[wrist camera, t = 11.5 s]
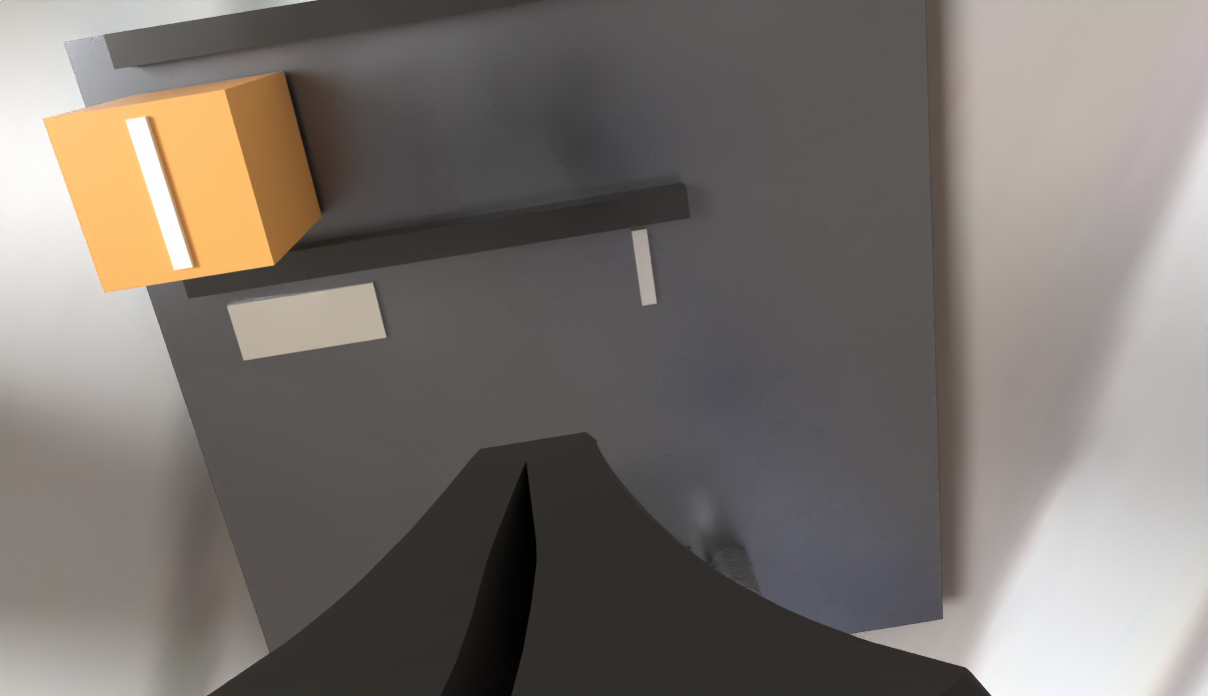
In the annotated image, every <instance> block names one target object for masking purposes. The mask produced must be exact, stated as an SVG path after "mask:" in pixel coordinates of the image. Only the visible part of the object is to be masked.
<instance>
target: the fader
mask: <svg viewBox="0 0 1208 696" xmlns="http://www.w3.org/2000/svg"><path fill="white" fill-rule="evenodd" d="M43 121H44V124H45V127H46V129H47V132H48V135H49V138H50V141H51V144H52V146H53V149H54V152H55V155H56V158H57V160H58V163H59V166H60V169H61V172H62V175H63V177H64V180H65V183H66V186H67V189H68V191H69V194H70V197H71V200H72V203H73V206H74V208H75V211H76V214H77V217H78V220H79V222H80V225H81V228H82V231H83V234H84V237H85V239H86V242H87V245H88V248H89V251H90V253H91V256H92V259H93V262H94V265H95V268H96V270H97V273H98V276H99V279H100V282H101V284H102V287H103V290H104V293H105V292H111V291H117V290H123V289H130V288H136V287H142V286H148V285H155V284H161V283H167V282H173V281H179V280H186V279H192V278H198V277H204V276H210V275H217V274H223V273H229V272H235V271H241V270H248V269H254V268H260V267H266V266H273V265H275V264H276V263H277V262H278V261H279V260H280V259H281V258H282V257H283V256H284V255H285V254H286V253H287V252H288V251H289V250H290V249H291V248H292V247H293V246H294V245H295V244H296V243H297V242H298V241H299V240H300V239H301V238H302V237H303V236H304V235H305V234H306V233H307V231H308V230H309V229H310V228H311V227H312V226H313V225H314V224H315V223H316V222H317V221H318V220H319V219H320V218H321V217H322V215H321V212H320V208H319V204H318V200H317V196H316V193H315V189H314V185H313V181H312V177H311V173H310V170H309V166H308V162H307V158H306V154H305V150H304V147H303V143H302V139H301V135H300V131H299V127H298V124H297V120H296V116H295V112H294V108H293V105H292V101H291V97H290V93H289V89H288V85H287V82H286V78H285V74H284V71H279V72H273V73H267V74H261V75H255V76H249V77H242V78H236V79H230V80H224V81H218V82H211V83H205V84H199V85H193V86H187V87H180V88H174V89H168V90H162V91H156V92H149V93H143V94H137V95H133V96H129V97H125V98H121V99H117V100H113V101H110V102H106V103H102V104H98V105H94V106H91V107H87V108H83V109H79V110H75V111H71V112H68V113H64V114H60V115H56V116H52V117H49V118H45V119H43Z"/></svg>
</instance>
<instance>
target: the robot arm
mask: <svg viewBox="0 0 1208 696" xmlns="http://www.w3.org/2000/svg"><path fill="white" fill-rule="evenodd" d="M207 696H991V695H990V694H989V692H988V691H987V690H986V689H985V688H984V687H983V686H982V684H981V683H980V682H979V681H978V680H977V679H976V677H975V676H974V675H973V674H972V673H971V672H970V671H969V670H968V669H967V668H965V667H961V666H958V665H954V664H950V663H947V662H943V661H939V660H936V659H932V658H928V657H925V656H921V655H917V654H914V653H910V652H906V651H902V650H899V649H895V648H891V647H888V646H884V645H880V644H877V643H873V642H870V641H867V640H864V639H861V638H858V637H855V636H853V635H850V634H847V633H845V632H842V631H839V630H837V629H834V628H831V627H829V626H826V625H824V624H821V623H818V622H816V621H813V620H811V619H808V618H806V617H804V616H802V615H799V614H797V613H795V612H793V611H790V610H788V609H786V608H784V607H781V606H779V605H777V604H775V603H773V602H772V601H770V600H768V599H766V598H764V597H762V596H760V595H758V594H756V593H755V592H753V591H751V590H749V589H747V588H745V587H743V586H741V585H739V584H738V583H736V582H734V581H733V580H731V579H729V578H728V577H726V576H724V575H723V574H722V573H720V572H719V571H717V570H716V569H715V568H713V567H712V566H710V565H709V564H708V563H706V562H705V561H703V560H702V559H701V558H699V557H698V556H697V555H696V554H694V553H693V552H692V551H690V550H689V549H688V548H687V547H686V546H684V545H683V544H682V543H681V542H680V541H678V540H677V539H676V538H675V537H674V536H673V535H672V534H671V533H670V532H668V531H667V530H666V529H665V528H664V527H663V526H662V525H661V524H660V523H659V522H658V521H657V520H656V519H655V518H654V517H653V516H652V515H651V514H650V513H649V512H648V511H647V510H646V509H645V508H644V507H643V506H642V505H641V504H640V503H639V502H638V500H637V499H636V498H635V497H634V496H633V495H632V494H631V493H630V491H629V490H628V489H627V488H626V487H625V486H624V485H623V483H622V482H621V481H620V480H619V478H618V477H617V476H616V474H615V473H614V472H613V470H612V469H611V467H610V466H609V464H608V463H607V461H606V460H605V458H604V457H603V455H602V453H601V451H600V449H599V447H598V445H597V440H596V439H595V438H593V437H592V436H590V435H589V434H588V433H586V432H582V433H576V434H570V435H563V436H557V437H551V438H545V439H538V440H532V441H526V442H520V443H514V444H507V445H501V446H495V447H489V448H482V449H480V450H479V451H478V452H477V453H476V454H475V455H474V456H473V457H472V458H471V459H470V461H469V462H468V463H467V464H466V465H465V467H464V468H463V469H462V470H461V471H460V473H459V474H458V475H457V476H456V478H455V479H454V480H453V481H452V482H451V484H450V485H449V486H448V487H447V488H446V490H445V491H444V492H443V493H442V494H441V496H440V497H439V498H438V499H437V500H436V501H435V502H434V504H433V505H432V506H431V507H430V508H429V509H428V511H427V512H426V513H425V514H424V515H423V516H422V517H421V519H420V520H419V521H418V522H417V523H416V524H415V526H414V527H413V528H412V529H411V530H410V531H409V532H408V533H407V534H406V535H405V536H404V537H403V538H402V539H401V540H400V541H399V542H398V543H397V544H396V545H395V546H394V547H393V548H392V549H391V550H390V551H389V552H388V553H387V554H386V555H385V556H384V557H383V558H382V559H381V560H380V561H379V562H378V563H377V564H376V565H375V566H374V567H373V568H372V569H371V570H370V571H369V573H368V574H367V575H366V576H365V577H364V578H362V579H361V580H360V581H359V582H358V583H357V584H356V585H355V586H354V587H353V588H352V589H351V590H349V591H348V592H347V593H346V594H345V595H344V596H343V597H341V598H340V599H339V600H338V601H337V602H336V603H334V604H333V605H332V606H331V607H330V608H328V609H327V610H326V611H325V612H323V613H322V614H321V615H320V616H319V617H317V618H316V619H315V620H314V621H312V622H311V623H310V624H309V625H307V626H306V627H305V628H304V629H302V630H301V631H300V632H299V633H297V634H296V635H295V636H293V637H292V638H291V639H289V640H288V641H287V642H285V643H284V644H283V645H281V646H280V647H278V648H277V649H275V650H274V651H272V652H271V653H269V654H268V655H267V656H265V657H264V658H262V659H261V660H259V661H258V662H256V663H255V664H253V665H252V666H250V667H249V668H247V669H246V670H244V671H243V672H242V673H240V674H239V675H237V676H236V677H234V678H233V679H231V680H230V681H228V682H227V683H225V684H224V685H222V686H221V687H220V688H218V689H217V690H215V691H214V692H212V693H211V694H209V695H207Z"/></svg>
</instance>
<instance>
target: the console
mask: <svg viewBox="0 0 1208 696" xmlns="http://www.w3.org/2000/svg"><path fill="white" fill-rule="evenodd" d="M64 44H65V47H66V50H67V53H68V56H69V59H70V62H71V65H72V68H73V71H74V74H75V77H76V79H77V82H78V85H79V88H80V91H81V94H82V97H83V100H84V103H85V106H86V108H87V107H91V106H94V105H98V104H102V103H106V102H110V101H113V100H117V99H121V98H125V97H129V96H133V95H137V94H143V93H149V92H156V91H162V90H168V89H174V88H180V87H187V86H193V85H199V84H205V83H211V82H218V81H224V80H230V79H236V78H242V77H249V76H255V75H261V74H267V73H273V72H279V71H284V74H285V78H286V82H287V85H288V89H289V93H290V97H291V101H292V105H293V108H294V112H295V116H296V120H297V124H298V127H299V131H300V135H301V139H302V143H303V147H304V150H305V154H306V158H307V162H308V166H309V170H310V173H311V177H312V181H313V185H314V189H315V193H316V196H317V200H318V204H319V208H320V212H321V215H322V217H321V218H320V219H319V220H318V221H317V222H316V223H315V224H314V225H313V226H312V227H311V228H310V229H309V230H308V231H307V233H306V234H305V235H304V236H303V237H302V238H301V239H300V240H299V241H298V242H297V243H296V244H295V245H294V246H293V247H292V248H291V249H290V250H289V251H288V252H287V253H286V254H285V255H284V256H283V257H282V258H281V259H280V260H279V261H278V262H277V263H276V264H275V265H273V266H266V267H260V268H254V269H248V270H241V271H235V272H229V273H223V274H217V275H210V276H204V277H198V278H192V279H186V280H179V281H173V282H167V283H161V284H155V285H148V286H146V287H147V290H148V293H149V296H150V299H151V302H152V305H153V308H154V311H155V314H156V317H157V320H158V322H159V325H160V328H161V331H162V334H163V337H164V340H165V343H166V346H167V349H168V352H169V355H170V358H171V361H172V364H173V367H174V370H175V373H176V376H177V379H178V382H179V385H180V388H181V391H182V394H183V397H184V400H185V403H186V405H187V408H188V411H189V414H190V417H191V420H192V423H193V426H194V429H195V432H196V435H197V438H198V441H199V444H200V447H201V450H202V453H203V456H204V459H205V462H206V465H207V468H208V471H209V474H210V477H211V480H212V483H213V485H214V488H215V491H216V494H217V497H218V500H219V503H220V506H221V509H222V512H223V515H224V518H225V521H226V524H227V527H228V530H229V533H230V536H231V539H232V542H233V545H234V548H235V551H236V554H237V557H238V560H239V563H240V566H241V568H242V571H243V574H244V577H245V580H246V583H247V586H248V589H249V592H250V595H251V598H252V601H253V604H254V607H255V610H256V613H257V616H258V619H259V622H260V625H261V628H262V631H263V634H264V637H265V640H266V643H267V646H268V649H269V651H270V653H271V652H272V651H274V650H275V649H277V648H278V647H280V646H281V645H283V644H284V643H285V642H287V641H288V640H289V639H291V638H292V637H293V636H295V635H296V634H297V633H299V632H300V631H301V630H302V629H304V628H305V627H306V626H307V625H309V624H310V623H311V622H312V621H314V620H315V619H316V618H317V617H319V616H320V615H321V614H322V613H323V612H325V611H326V610H327V609H328V608H330V607H331V606H332V605H333V604H334V603H336V602H337V601H338V600H339V599H340V598H341V597H343V596H344V595H345V594H346V593H347V592H348V591H349V590H351V589H352V588H353V587H354V586H355V585H356V584H357V583H358V582H359V581H360V580H361V579H362V578H364V577H365V576H366V575H367V574H368V573H369V571H370V570H371V569H372V568H373V567H374V566H375V565H376V564H377V563H378V562H379V561H380V560H381V559H382V558H383V557H384V556H385V555H386V554H387V553H388V552H389V551H390V550H391V549H392V548H393V547H394V546H395V545H396V544H397V543H398V542H399V541H400V540H401V539H402V538H403V537H404V536H405V535H406V534H407V533H408V532H409V531H410V530H411V529H412V528H413V527H414V526H415V524H416V523H417V522H418V521H419V520H420V519H421V517H422V516H423V515H424V514H425V513H426V512H427V511H428V509H429V508H430V507H431V506H432V505H433V504H434V502H435V501H436V500H437V499H438V498H439V497H440V496H441V494H442V493H443V492H444V491H445V490H446V488H447V487H448V486H449V485H450V484H451V482H452V481H453V480H454V479H455V478H456V476H457V475H458V474H459V473H460V471H461V470H462V469H463V468H464V467H465V465H466V464H467V463H468V462H469V461H470V459H471V458H472V457H473V456H474V455H475V454H476V453H477V452H478V451H479V450H480V449H482V448H489V447H495V446H501V445H507V444H514V443H520V442H526V441H532V440H538V439H545V438H551V437H557V436H563V435H570V434H576V433H582V432H586V433H588V434H589V435H590V436H592V437H593V438H595V439H596V440H597V445H598V447H599V449H600V451H601V453H602V455H603V457H604V458H605V460H606V461H607V463H608V464H609V466H610V467H611V469H612V470H613V472H614V473H615V474H616V476H617V477H618V478H619V480H620V481H621V482H622V483H623V485H624V486H625V487H626V488H627V489H628V490H629V491H630V493H631V494H632V495H633V496H634V497H635V498H636V499H637V500H638V502H639V503H640V504H641V505H642V506H643V507H644V508H645V509H646V510H647V511H648V512H649V513H650V514H651V515H652V516H653V517H654V518H655V519H656V520H657V521H658V522H659V523H660V524H661V525H662V526H663V527H664V528H665V529H666V530H667V531H668V532H670V533H671V534H672V535H673V536H674V537H675V538H676V539H677V540H678V541H680V542H681V543H682V544H683V545H684V546H686V547H687V548H688V549H689V550H690V551H692V552H693V553H694V554H696V555H697V556H698V557H699V558H701V559H702V560H703V561H705V562H706V563H708V564H709V565H710V566H712V567H713V568H715V569H716V570H717V571H719V572H720V573H722V574H723V575H724V576H726V577H728V578H729V579H731V580H733V581H734V582H736V583H738V584H739V585H741V586H743V587H745V588H747V589H749V590H751V591H753V592H755V593H756V594H758V595H760V596H762V597H764V598H766V599H768V600H770V601H772V602H773V603H775V604H777V605H779V606H781V607H784V608H786V609H788V610H790V611H793V612H795V613H797V614H799V615H802V616H804V617H806V618H808V619H811V620H813V621H816V622H818V623H821V624H824V625H826V626H829V627H831V628H834V629H837V630H839V631H842V632H845V633H847V634H852V633H859V632H865V631H871V630H877V629H884V628H890V627H896V626H903V625H909V624H915V623H921V622H928V621H934V620H940V619H943V606H942V571H941V535H940V500H939V465H938V429H937V394H936V359H935V323H934V288H933V253H932V217H931V182H930V147H929V112H928V76H927V41H926V6H925V0H316V1H310V2H304V3H298V4H291V5H285V6H279V7H273V8H267V9H260V10H254V11H248V12H242V13H236V14H230V15H223V16H217V17H211V18H205V19H199V20H192V21H186V22H180V23H174V24H168V25H162V26H155V27H149V28H143V29H137V30H131V31H124V32H118V33H112V34H106V35H103V36H98V37H92V38H86V39H80V40H73V41H67V42H64Z"/></svg>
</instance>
